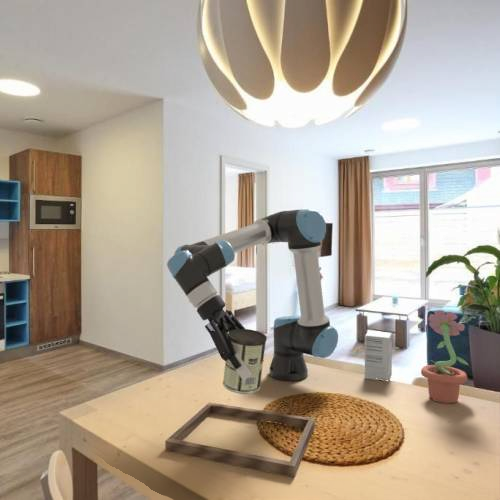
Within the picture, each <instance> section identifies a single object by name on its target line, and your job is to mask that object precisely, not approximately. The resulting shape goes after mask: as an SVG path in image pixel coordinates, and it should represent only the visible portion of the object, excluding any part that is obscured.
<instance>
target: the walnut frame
mask: <svg viewBox="0 0 500 500" xmlns="http://www.w3.org/2000/svg"><path fill="white" fill-rule="evenodd" d="M211 414H214V415H220V416H227V417H231V418H232V417H234V418H238V419H239V418H240V419H244V420H245V419H246V420H252V421H257V422H258V421H259V422H263V421H271V422H277V423H281V424H286V425H285V426H288V425H291V426H290V427H294V428H295V427H296V428H302V429H303V431H302V434H301V436H300V438H299V440H298V442H297V445H296V447H295V449H294V451H293V453H292V455H291V457H290V460H289V461H288V460H285V459H284V460H282V459H278V458H273V457H267V456H263V455H257V454H251V453H247V452H241V451H237V450H231V449H228V448H227V449H225V448H223V447H217V446H210V445H207V444H206V445H205V444H202V443H196V442H195V443H194V442H192V441H191V442H190V441H185V439H186V438H188V437H189V435H190V434H191V433H192V432H193V431H194V430H195V429H197V428H198V427H199V426H200V425H201V424H202V423H203V422H204V421H205V420H206V419H207V418H208V417H209V416H210V415H211ZM261 420H263V421H261ZM315 423H316V418H315V417H307V416H301V415H294V414H288V413H281V412H275V411H274V412H273V411H268V410H267V411H266V410H261V409H254V408H247V407H241V406H235V405H228V404H222V403H221V404H220V403H215V402H208V403H207V404H205V406H204V407H202V408H201V409H200V410H199V411H197V413H196V414H194V415H193V416H192V417H191V418H190V419H189V420H187V421H186V422H185V423H184V424H183V425H182V426H180V427H179V428H178V429H177V430H176V431H175V432H174V433H172V435H170V436H169V437H168V438H167V439H166V440H164V441H165V450H164V451H165V452H169V453H175V454H180V455H184V456H190V457H193V458H198V459H203V460H208V461H212V462H218V463H221V464H222V463H223V464H227V465H233V466H237V467H241V468H246V469H252V470H257V471H262V472H266V473H271V474H275V475H281V476H284V477H285V476H286V477H289V478H296V475H297V472H298V470H299V468H300V465H301V463H302V460H303V458H304V454H305V453H306V450H307V448H308V445H309V442H310V440H311V438H312V436H313V433H314V430H315V427H316V424H315ZM281 424H280V425H281Z"/></svg>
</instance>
